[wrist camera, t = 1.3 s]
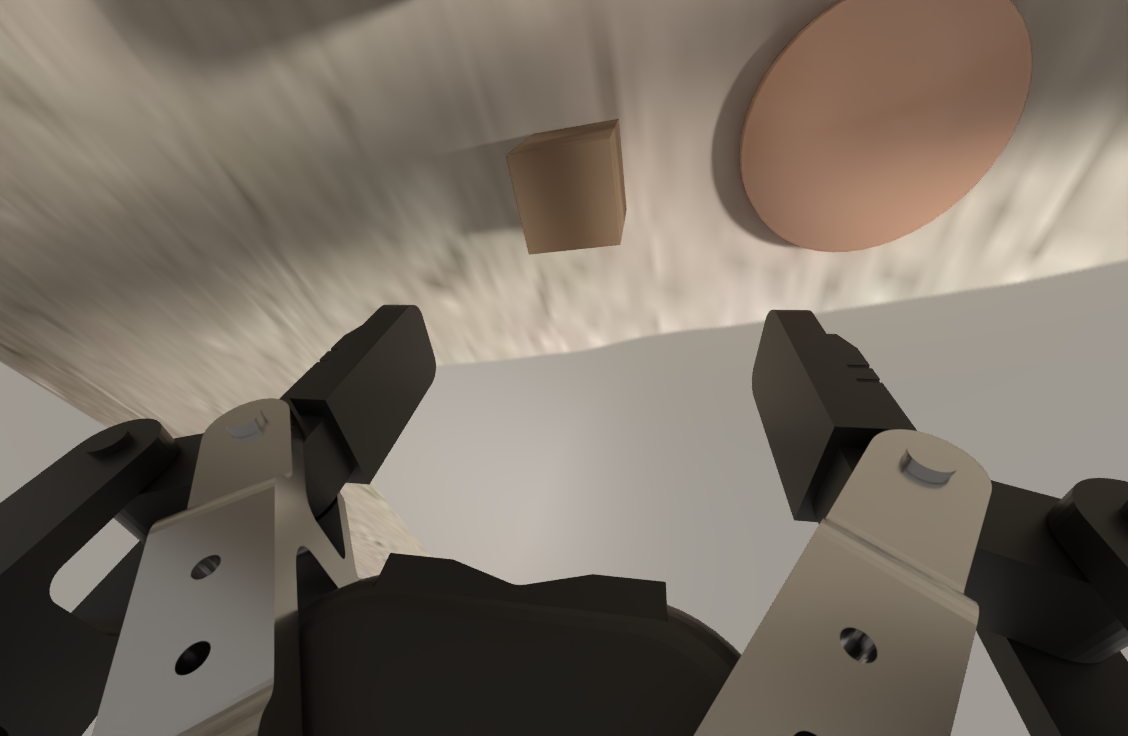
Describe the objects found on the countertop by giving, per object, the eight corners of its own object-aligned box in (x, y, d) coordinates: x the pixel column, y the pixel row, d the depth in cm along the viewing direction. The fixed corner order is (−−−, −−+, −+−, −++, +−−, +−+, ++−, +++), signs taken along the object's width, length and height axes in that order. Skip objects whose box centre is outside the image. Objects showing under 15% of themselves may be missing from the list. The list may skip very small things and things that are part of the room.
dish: (1062, -58, 17) (1091, -65, 16) (957, 230, 24) (972, 240, 23) (747, 11, 20) (753, 10, 19) (733, 252, 27) (736, 261, 26)
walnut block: (618, 118, 24) (609, 138, 19) (626, 208, 27) (620, 244, 22) (534, 133, 25) (505, 155, 21) (550, 218, 28) (528, 254, 23)
